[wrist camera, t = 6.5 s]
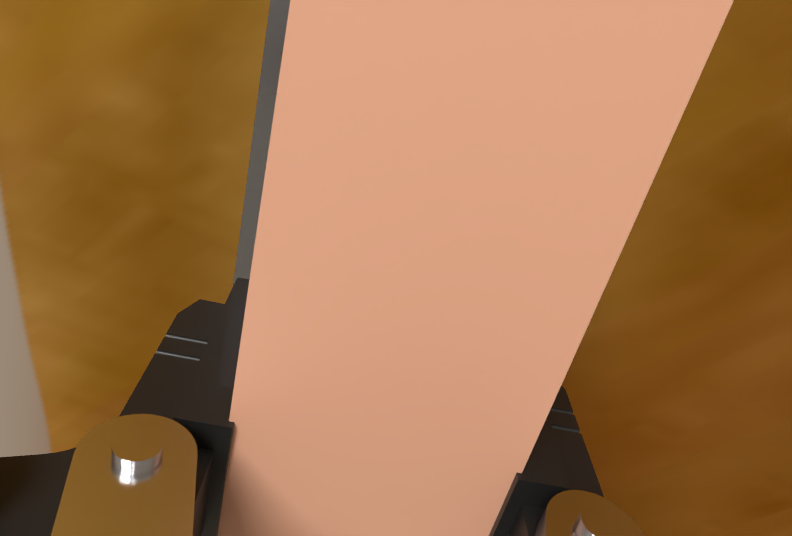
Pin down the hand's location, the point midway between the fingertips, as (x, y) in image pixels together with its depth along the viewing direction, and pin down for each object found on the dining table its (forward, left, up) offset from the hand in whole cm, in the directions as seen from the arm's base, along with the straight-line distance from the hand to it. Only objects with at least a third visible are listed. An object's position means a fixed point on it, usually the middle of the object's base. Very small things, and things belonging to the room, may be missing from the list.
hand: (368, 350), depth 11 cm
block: (0, 0, -3) cm, 3 cm away
